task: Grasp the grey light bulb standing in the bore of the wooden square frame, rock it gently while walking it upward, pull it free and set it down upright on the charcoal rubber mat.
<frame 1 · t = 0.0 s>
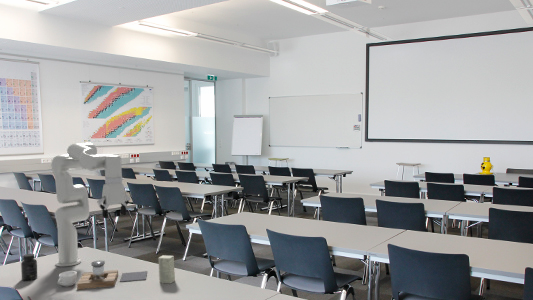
hand: (114, 216, 205), 31 cm above the table, tool pointing down, fingers open, 9 cm apart
grey light bulb: (98, 272, 204), in the wooden square frame
skincare box: (166, 282, 204), on the table
mat: (133, 276, 211), on the table
teacup: (66, 286, 200), on the table
supplement bottle: (29, 279, 209), on the table
wooden square frame: (98, 281, 204), on the table
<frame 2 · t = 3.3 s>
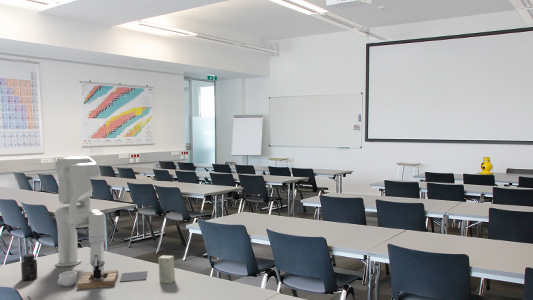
hand: (98, 275, 204), 3 cm above the table, tool pointing down, fingers closed on grey light bulb, 5 cm apart
grey light bulb: (98, 272, 204), in the wooden square frame, touching gripper
everything else where it was.
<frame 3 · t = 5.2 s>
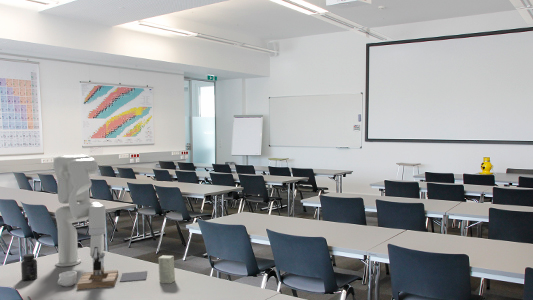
hand: (98, 267, 204), 7 cm above the table, tool pointing down, fingers closed on grey light bulb, 5 cm apart
grey light bulb: (98, 263, 204), point 9 cm above the table, touching gripper
everything else where it was.
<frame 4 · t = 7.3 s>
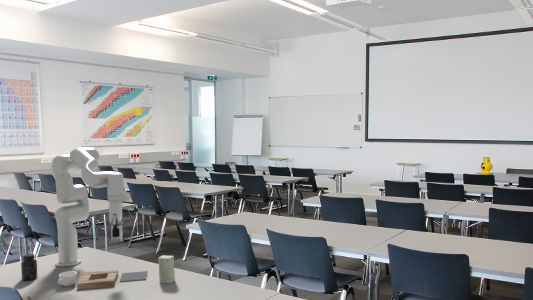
hand: (116, 235, 207), 22 cm above the table, tool pointing down, fingers closed on grey light bulb, 5 cm apart
grey light bulb: (116, 231, 207), point 24 cm above the table, touching gripper
everything else where it was.
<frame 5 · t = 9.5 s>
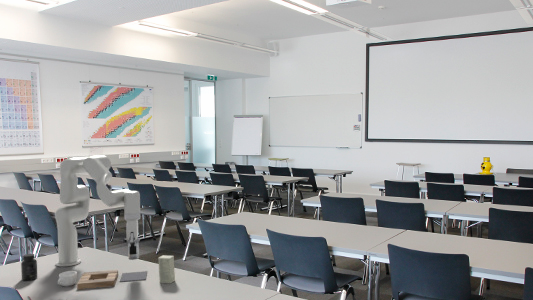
hand: (133, 252, 210), 12 cm above the table, tool pointing down, fingers closed on grey light bulb, 5 cm apart
grey light bulb: (133, 248, 210), point 14 cm above the table, touching gripper
everything else where it was.
when the fingers open (5 cm above the table, at t = 11.3 s): grey light bulb drops 1 cm, resting on mat.
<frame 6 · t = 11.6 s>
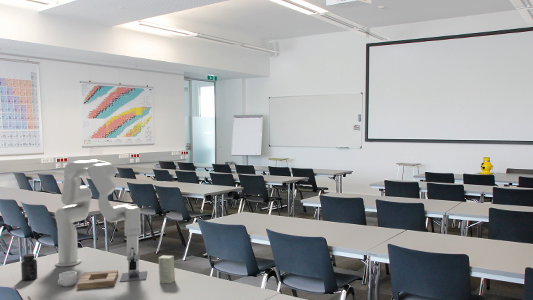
hand: (133, 266, 211), 5 cm above the table, tool pointing down, fingers open, 7 cm apart
grey light bulb: (133, 266, 210), on the mat
everything else where it was.
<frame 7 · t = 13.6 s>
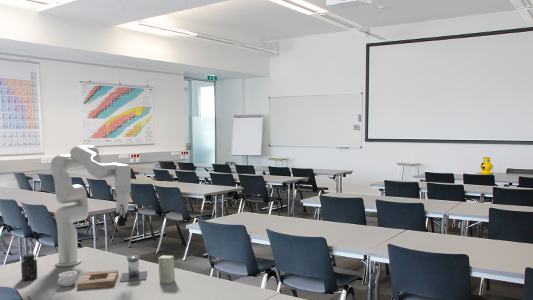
hand: (122, 223, 211), 26 cm above the table, tool pointing down, fingers open, 9 cm apart
nothing on the table moved.
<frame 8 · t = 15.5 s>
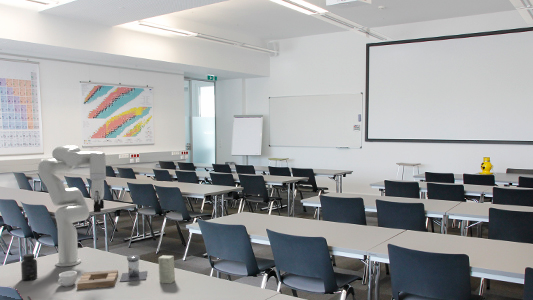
hand: (98, 210, 215), 32 cm above the table, tool pointing down, fingers open, 9 cm apart
nothing on the table moved.
at the end: grey light bulb inside the target area on the mat (0.1 cm from its centre), point 5.1 cm above the mat's base; grey light bulb tilted 0°; grey light bulb touching mat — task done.
